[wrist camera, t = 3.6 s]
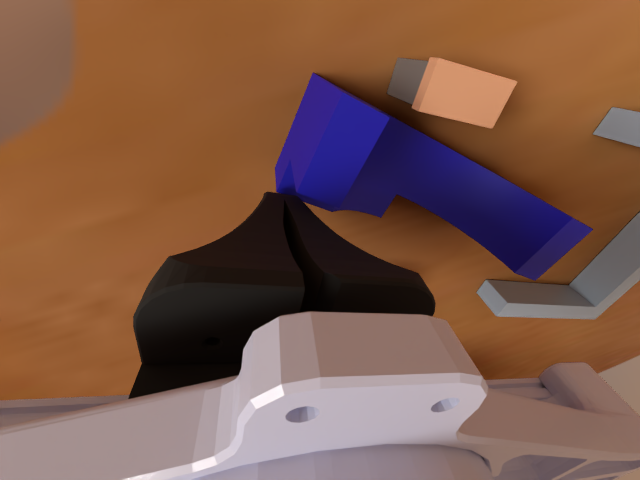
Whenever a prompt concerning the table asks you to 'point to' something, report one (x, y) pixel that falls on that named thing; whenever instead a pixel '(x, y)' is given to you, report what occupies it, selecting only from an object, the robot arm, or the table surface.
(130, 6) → the table surface
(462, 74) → the posts
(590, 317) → the grey bent bracket
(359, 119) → the blue stepped bar
